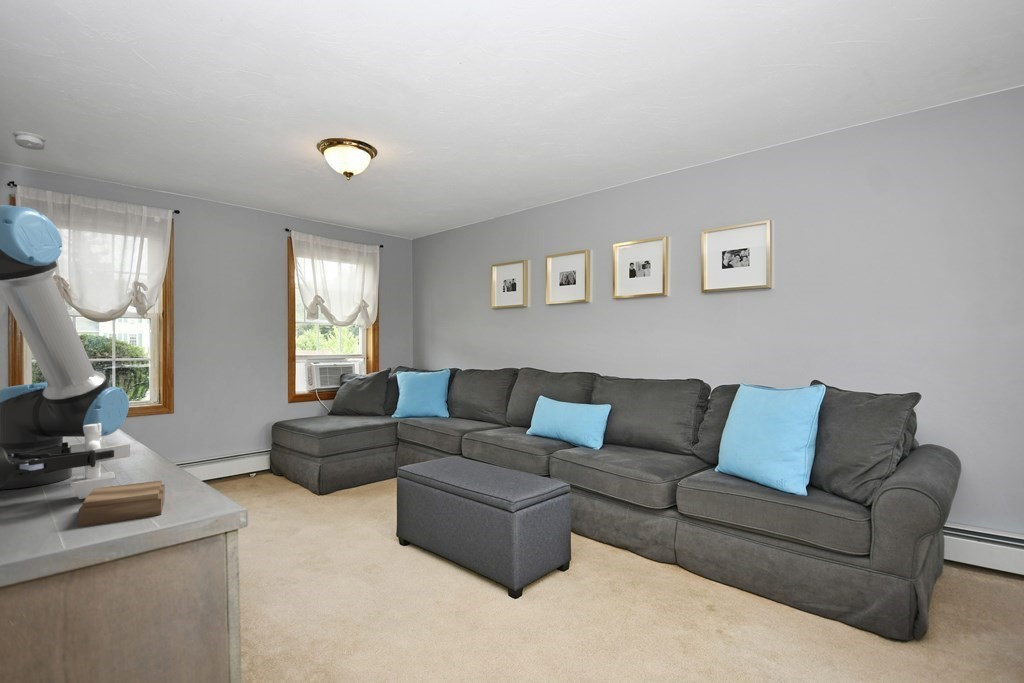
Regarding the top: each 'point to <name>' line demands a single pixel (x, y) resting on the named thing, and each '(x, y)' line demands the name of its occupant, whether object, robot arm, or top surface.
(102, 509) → the plinth
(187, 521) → the top surface
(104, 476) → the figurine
